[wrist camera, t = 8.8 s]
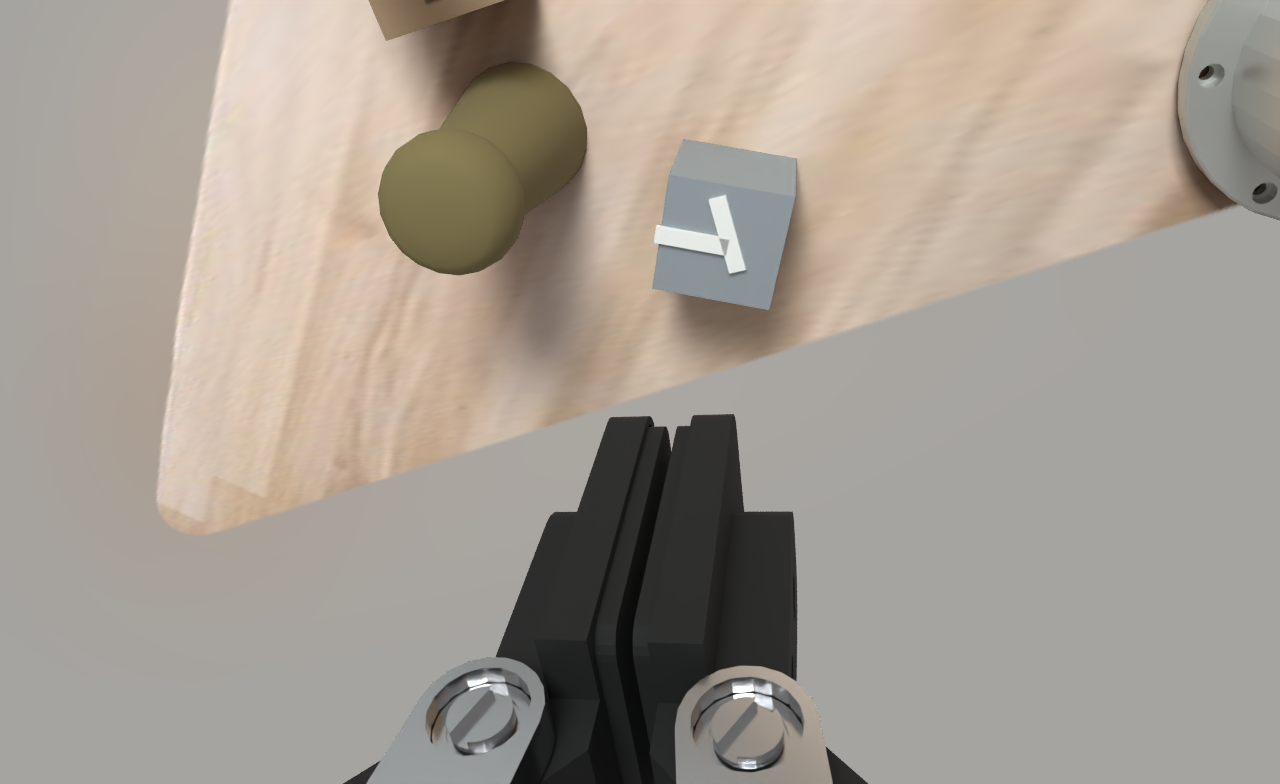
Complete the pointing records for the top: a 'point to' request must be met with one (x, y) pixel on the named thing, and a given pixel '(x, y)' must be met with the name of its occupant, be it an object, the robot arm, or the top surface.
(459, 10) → the walnut numeral block
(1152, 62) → the top surface
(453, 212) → the cork
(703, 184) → the slate numeral block
